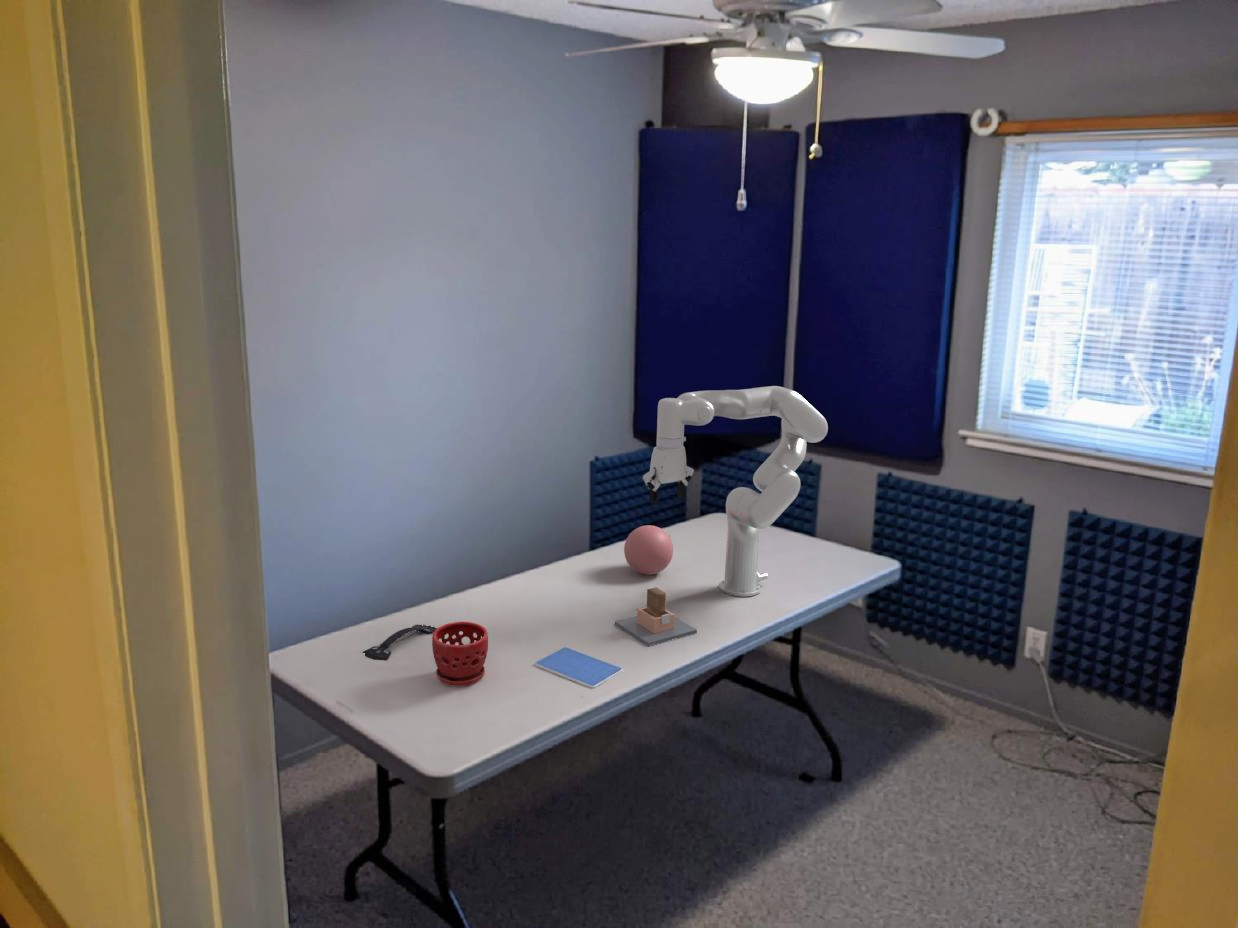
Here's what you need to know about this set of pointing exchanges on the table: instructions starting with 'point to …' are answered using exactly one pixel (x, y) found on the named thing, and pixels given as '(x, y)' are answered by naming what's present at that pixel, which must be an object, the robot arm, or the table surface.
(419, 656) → the table surface
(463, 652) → the plant pot
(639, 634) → the square base with socket
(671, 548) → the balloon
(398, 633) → the black curved handle
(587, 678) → the tablet computer
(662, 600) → the wooden rectangular block
